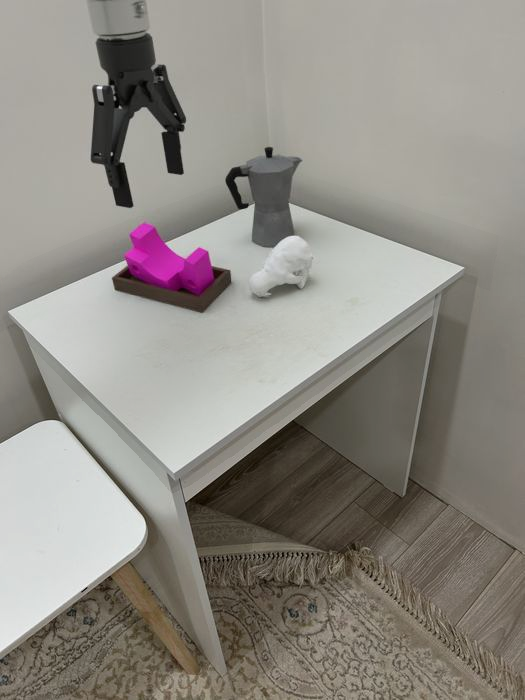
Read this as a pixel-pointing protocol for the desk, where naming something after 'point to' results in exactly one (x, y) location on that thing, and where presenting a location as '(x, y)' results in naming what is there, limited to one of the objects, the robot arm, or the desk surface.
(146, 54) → the robot arm
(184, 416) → the desk surface
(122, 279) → the dark brown rectangular tray
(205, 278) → the magenta curved bracket
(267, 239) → the coffeepot
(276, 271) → the white lumpy piece
